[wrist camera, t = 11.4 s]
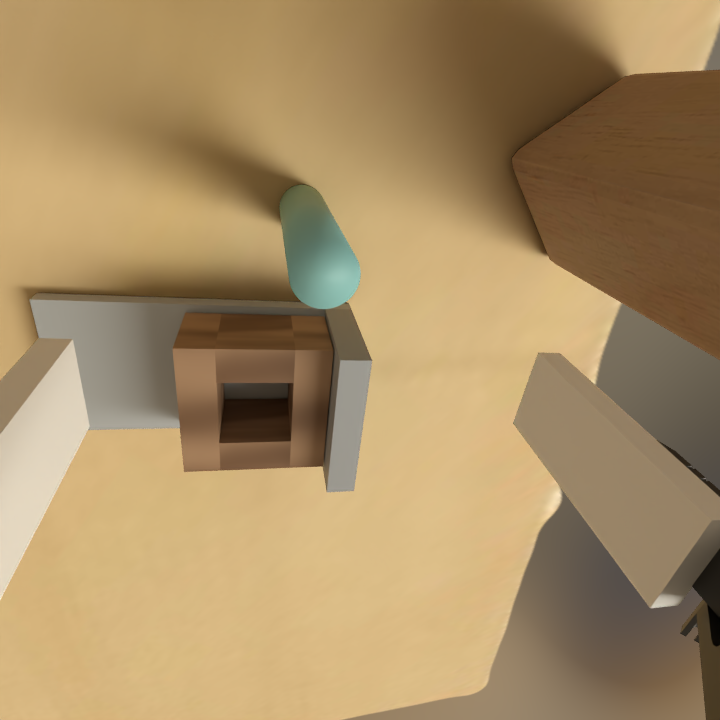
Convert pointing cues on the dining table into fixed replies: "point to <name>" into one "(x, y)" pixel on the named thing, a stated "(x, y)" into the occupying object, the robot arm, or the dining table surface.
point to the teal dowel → (316, 250)
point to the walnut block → (252, 365)
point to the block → (637, 197)
